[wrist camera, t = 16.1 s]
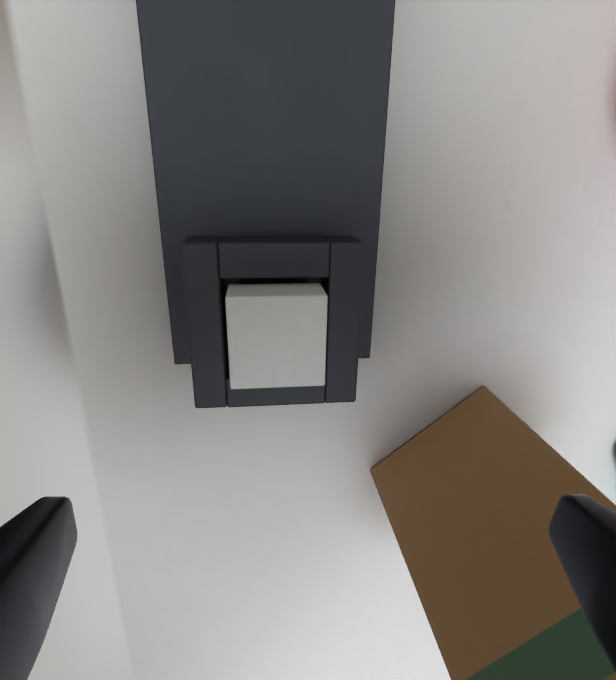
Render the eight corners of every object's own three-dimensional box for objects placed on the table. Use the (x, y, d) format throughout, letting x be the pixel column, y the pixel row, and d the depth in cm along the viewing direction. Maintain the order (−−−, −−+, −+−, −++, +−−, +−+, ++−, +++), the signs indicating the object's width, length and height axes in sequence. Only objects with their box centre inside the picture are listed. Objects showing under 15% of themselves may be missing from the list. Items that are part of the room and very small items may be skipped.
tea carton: (531, 447, 22) (812, 722, 11) (422, 524, 23) (577, 846, 12) (483, 384, 20) (759, 633, 9) (368, 469, 21) (491, 787, 10)
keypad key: (318, 365, 16) (325, 386, 14) (232, 368, 16) (230, 390, 14) (320, 282, 15) (328, 295, 13) (228, 283, 15) (224, 296, 13)
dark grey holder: (361, 369, 19) (379, 401, 16) (181, 375, 18) (168, 410, 16) (399, -216, 13) (440, -329, 10) (118, -251, 12) (74, -386, 9)
